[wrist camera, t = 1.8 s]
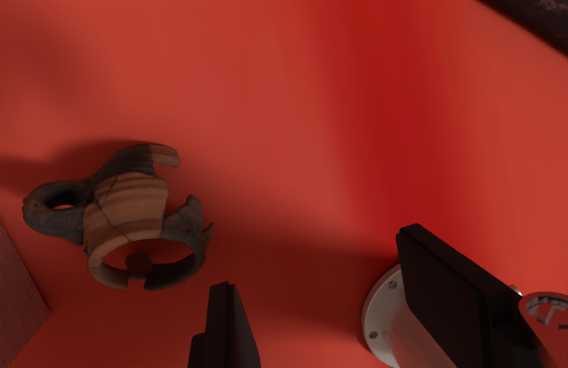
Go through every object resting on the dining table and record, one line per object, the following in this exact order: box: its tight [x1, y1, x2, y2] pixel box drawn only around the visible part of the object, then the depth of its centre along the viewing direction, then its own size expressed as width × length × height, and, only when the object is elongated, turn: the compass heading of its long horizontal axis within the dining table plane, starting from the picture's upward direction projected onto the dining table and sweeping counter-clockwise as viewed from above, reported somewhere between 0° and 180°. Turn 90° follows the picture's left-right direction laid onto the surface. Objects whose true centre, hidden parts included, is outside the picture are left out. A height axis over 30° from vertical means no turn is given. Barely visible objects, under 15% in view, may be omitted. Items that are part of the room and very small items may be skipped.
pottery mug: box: [22, 144, 215, 291], centre depth 24 cm, size 12×10×8 cm
